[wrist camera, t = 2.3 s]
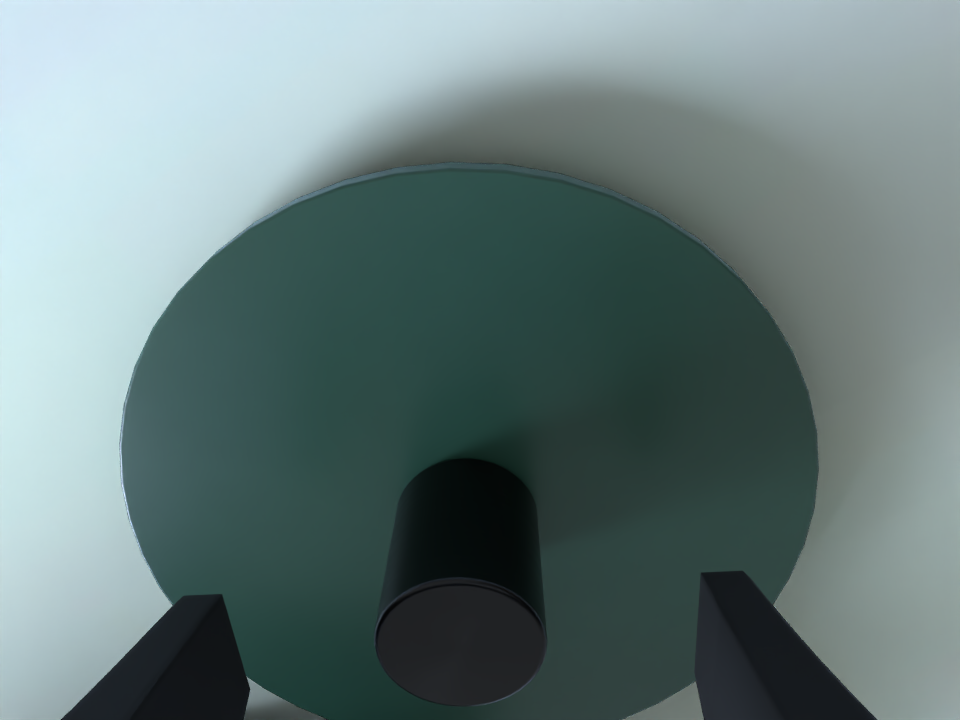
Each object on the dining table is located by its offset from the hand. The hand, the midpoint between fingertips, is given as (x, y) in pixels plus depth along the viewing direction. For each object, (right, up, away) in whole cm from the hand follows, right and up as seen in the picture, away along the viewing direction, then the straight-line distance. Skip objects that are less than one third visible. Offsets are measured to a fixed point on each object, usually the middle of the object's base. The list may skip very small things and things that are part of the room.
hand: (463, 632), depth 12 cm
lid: (0, +1, +3) cm, 3 cm away
